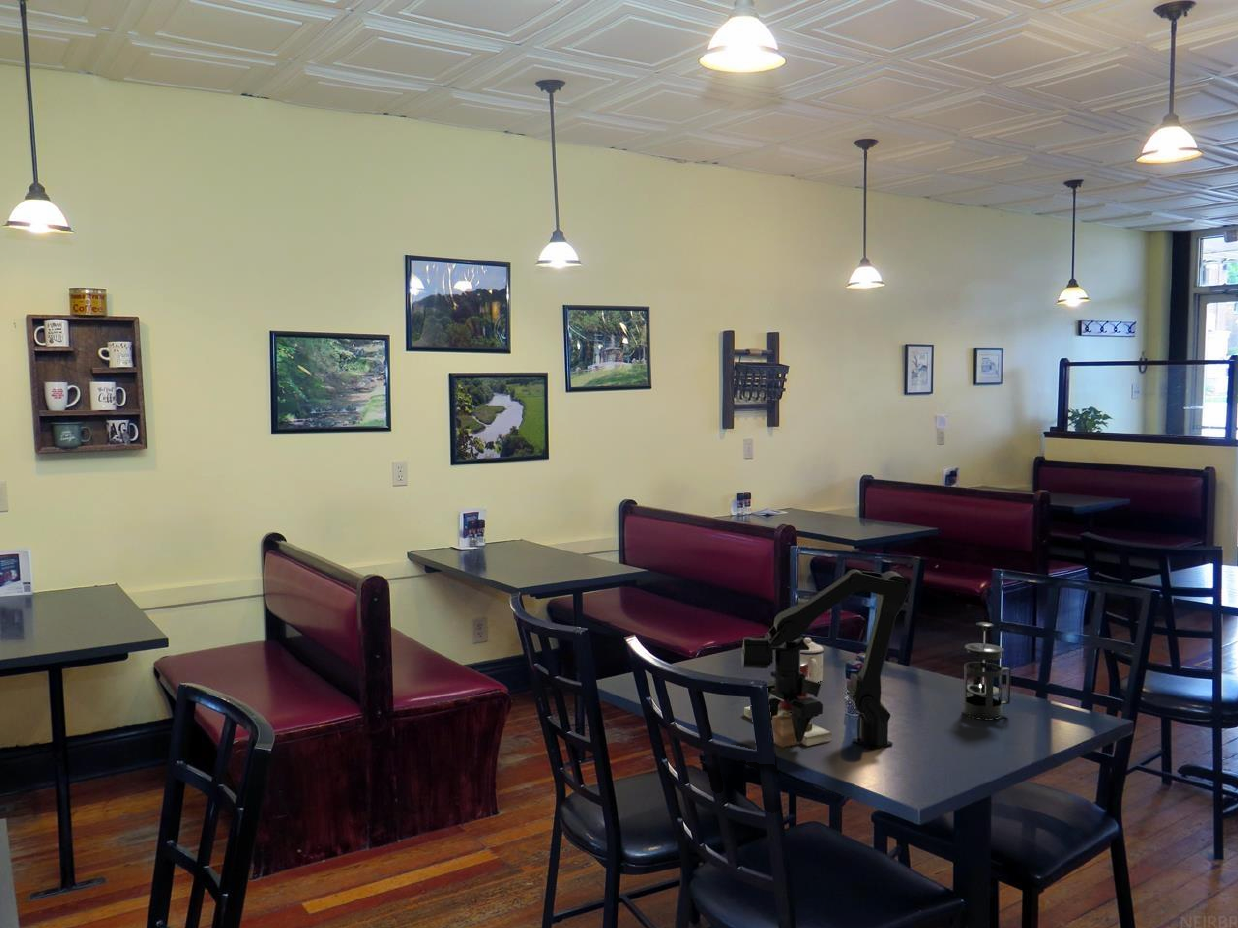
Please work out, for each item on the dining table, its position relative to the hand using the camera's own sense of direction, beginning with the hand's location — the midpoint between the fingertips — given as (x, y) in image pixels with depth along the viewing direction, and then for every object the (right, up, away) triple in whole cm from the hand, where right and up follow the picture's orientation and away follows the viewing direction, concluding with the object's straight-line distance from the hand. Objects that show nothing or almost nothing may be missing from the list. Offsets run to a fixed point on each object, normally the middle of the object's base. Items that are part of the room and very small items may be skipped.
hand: (786, 735), depth 220 cm
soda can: (+6, 0, +24) cm, 25 cm away
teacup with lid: (+15, +1, +48) cm, 50 cm away
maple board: (+2, -1, +10) cm, 10 cm away
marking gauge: (+2, -2, +1) cm, 3 cm away
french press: (+53, -1, +20) cm, 56 cm away
